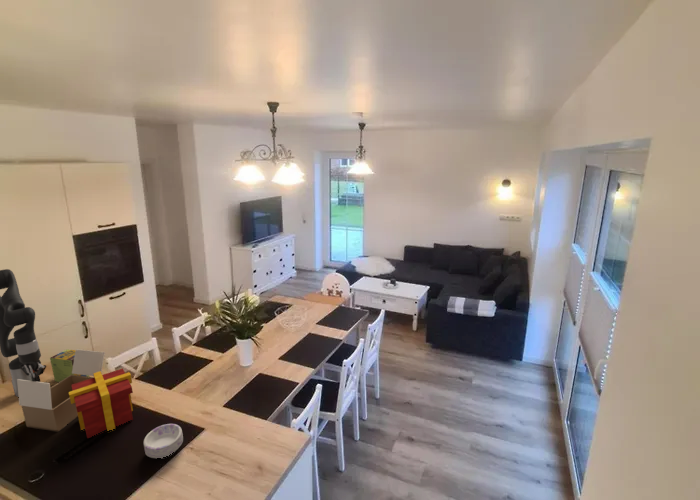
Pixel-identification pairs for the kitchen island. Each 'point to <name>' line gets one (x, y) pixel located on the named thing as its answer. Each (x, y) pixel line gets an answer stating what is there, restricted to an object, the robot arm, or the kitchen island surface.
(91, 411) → the gift box
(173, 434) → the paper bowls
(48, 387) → the near flap
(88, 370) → the far flap
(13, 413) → the kitchen island surface
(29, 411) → the carton
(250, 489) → the kitchen island surface
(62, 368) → the protein box
